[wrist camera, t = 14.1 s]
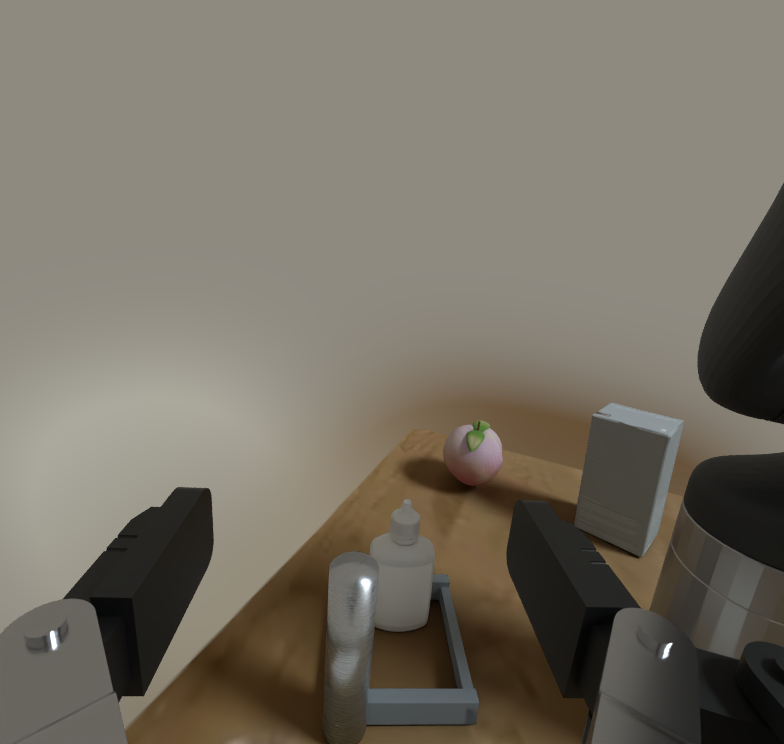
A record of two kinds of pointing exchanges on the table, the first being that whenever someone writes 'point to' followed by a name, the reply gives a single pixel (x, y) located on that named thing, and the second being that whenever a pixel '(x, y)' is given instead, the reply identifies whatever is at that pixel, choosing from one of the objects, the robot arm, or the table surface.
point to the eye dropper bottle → (403, 573)
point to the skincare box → (627, 476)
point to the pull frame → (354, 657)
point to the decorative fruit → (473, 453)
